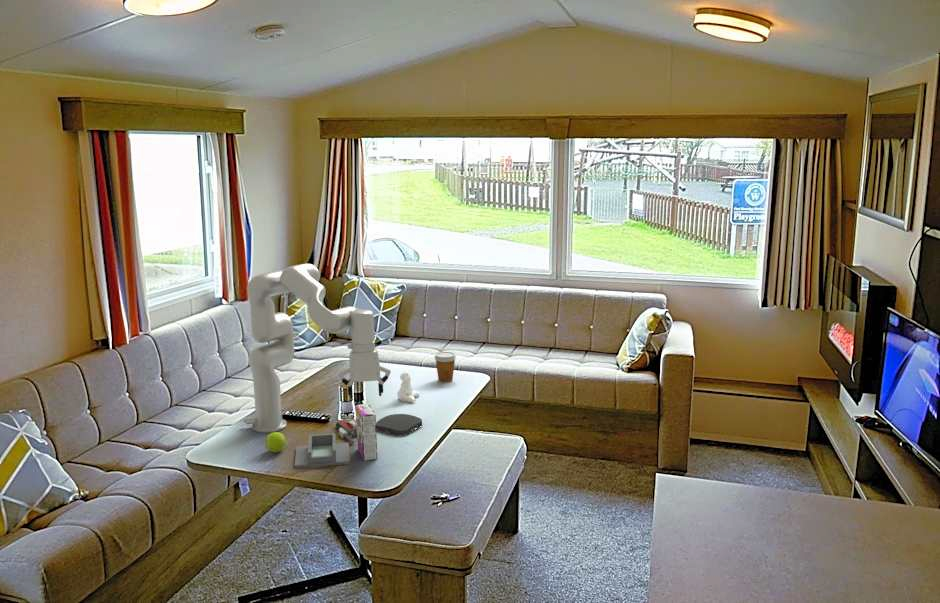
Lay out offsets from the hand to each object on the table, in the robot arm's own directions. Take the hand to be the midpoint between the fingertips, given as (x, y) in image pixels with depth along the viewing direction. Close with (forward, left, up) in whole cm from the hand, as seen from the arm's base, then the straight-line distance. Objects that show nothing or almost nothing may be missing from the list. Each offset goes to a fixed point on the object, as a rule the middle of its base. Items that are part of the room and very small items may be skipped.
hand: (365, 396), depth 257 cm
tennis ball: (-31, +8, -21) cm, 39 cm away
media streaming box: (+13, +23, -22) cm, 34 cm away
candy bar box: (0, 0, -21) cm, 21 cm away
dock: (-15, +1, -21) cm, 26 cm away
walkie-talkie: (-5, +20, -22) cm, 30 cm away
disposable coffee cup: (+38, +75, -21) cm, 87 cm away
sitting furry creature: (+19, +53, -21) cm, 60 cm away
